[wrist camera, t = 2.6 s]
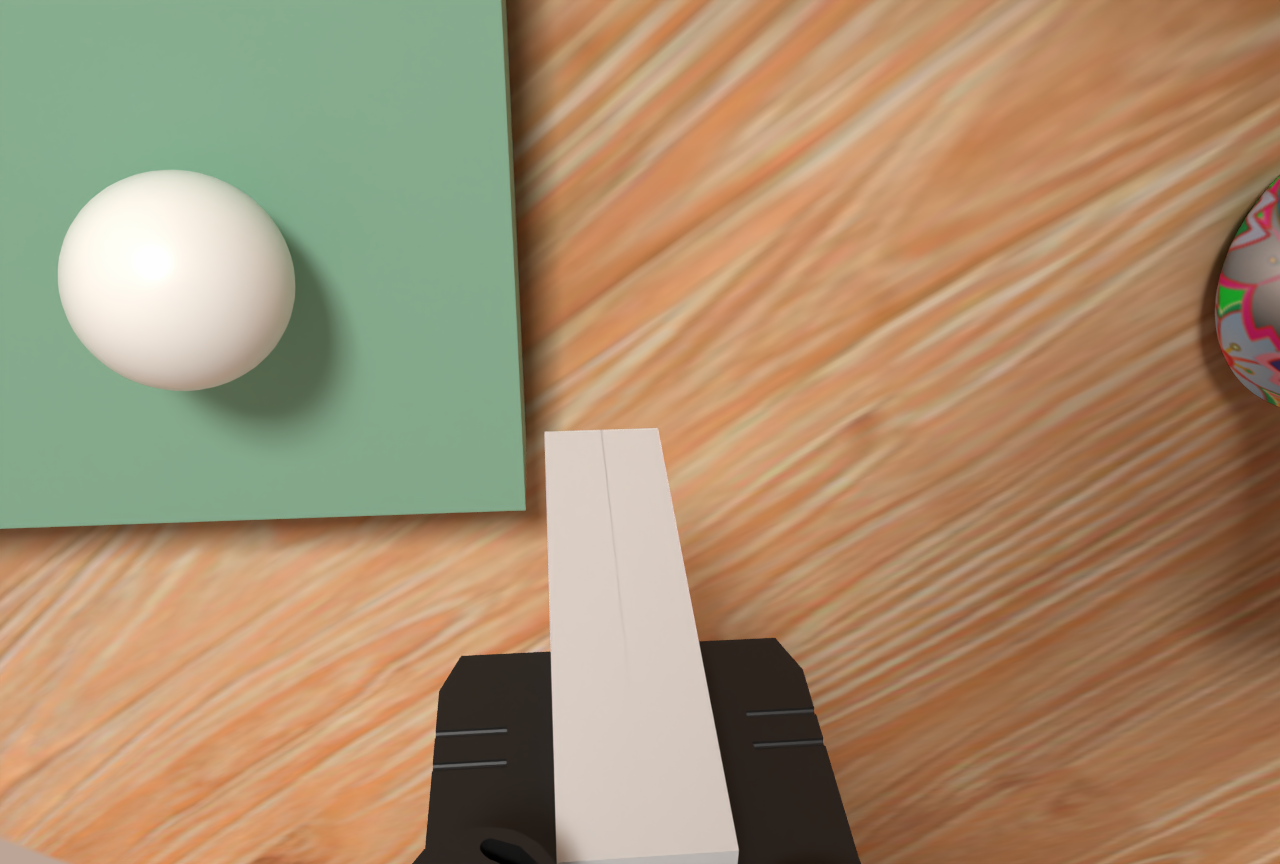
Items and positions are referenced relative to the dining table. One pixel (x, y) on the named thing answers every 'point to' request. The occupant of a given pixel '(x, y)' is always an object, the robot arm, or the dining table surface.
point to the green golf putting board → (316, 238)
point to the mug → (1253, 299)
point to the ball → (176, 280)
